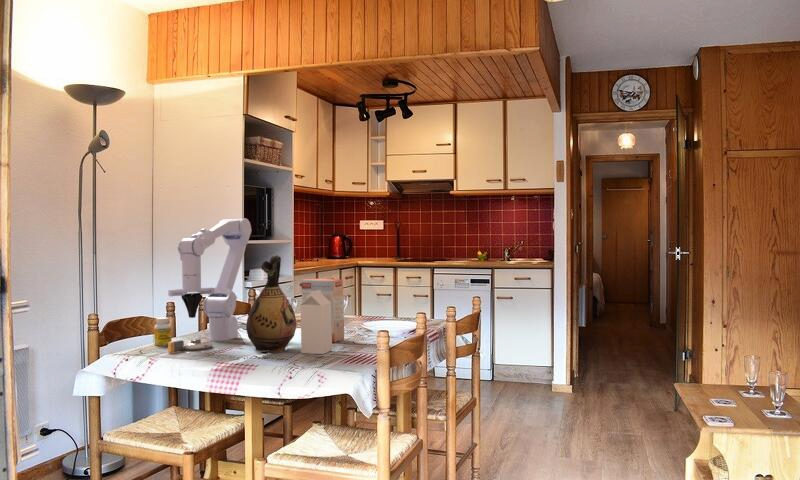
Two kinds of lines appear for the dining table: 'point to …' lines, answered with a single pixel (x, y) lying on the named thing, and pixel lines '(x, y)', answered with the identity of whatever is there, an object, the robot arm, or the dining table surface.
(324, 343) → the milk carton
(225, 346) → the board
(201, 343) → the dial
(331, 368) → the dining table surface
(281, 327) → the ceramic jug
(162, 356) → the dining table surface
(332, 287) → the cracker box
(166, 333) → the supplement bottle
